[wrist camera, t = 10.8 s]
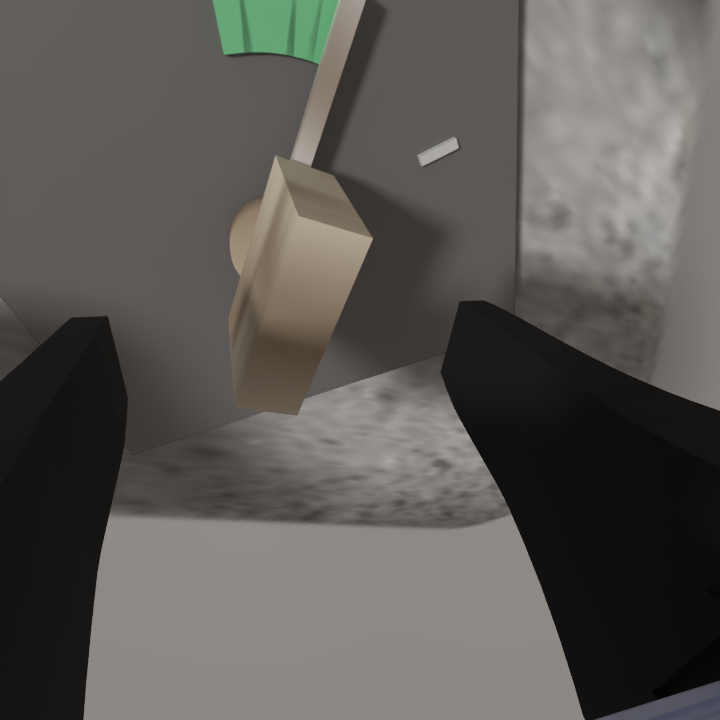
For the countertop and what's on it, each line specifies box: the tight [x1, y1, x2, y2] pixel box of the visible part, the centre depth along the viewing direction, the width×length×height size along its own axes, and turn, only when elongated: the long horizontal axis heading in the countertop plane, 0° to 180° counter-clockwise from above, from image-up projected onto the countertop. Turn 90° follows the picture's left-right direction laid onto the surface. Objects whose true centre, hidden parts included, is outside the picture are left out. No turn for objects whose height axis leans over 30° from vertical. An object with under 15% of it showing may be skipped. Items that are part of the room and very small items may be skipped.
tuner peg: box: [228, 0, 373, 415], centre depth 12 cm, size 9×3×5 cm, turn 157°
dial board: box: [0, 0, 519, 455], centre depth 15 cm, size 16×14×1 cm
